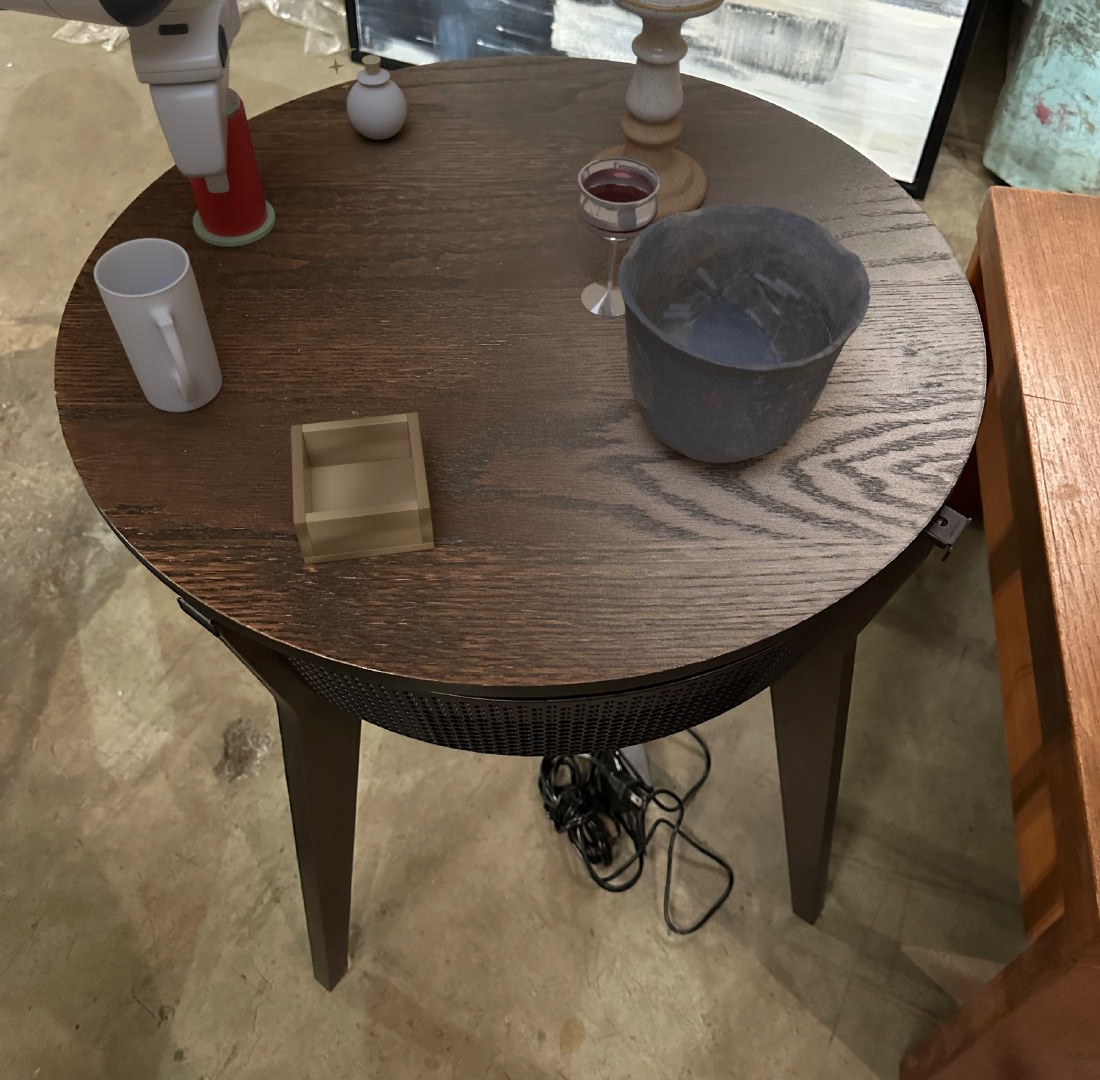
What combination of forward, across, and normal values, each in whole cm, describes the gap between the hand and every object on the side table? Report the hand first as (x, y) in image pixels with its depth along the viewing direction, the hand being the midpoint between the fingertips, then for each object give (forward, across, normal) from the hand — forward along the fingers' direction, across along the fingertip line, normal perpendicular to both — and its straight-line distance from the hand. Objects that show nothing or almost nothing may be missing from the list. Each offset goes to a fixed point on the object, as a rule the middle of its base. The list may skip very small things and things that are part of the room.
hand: (220, 163), depth 93 cm
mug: (+6, +23, -3) cm, 24 cm away
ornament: (+6, -13, +14) cm, 20 cm away
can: (+6, 0, 0) cm, 6 cm away
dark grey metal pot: (+6, +33, +38) cm, 51 cm away
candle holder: (+6, 0, +40) cm, 40 cm away
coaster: (+6, 0, 0) cm, 6 cm away
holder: (+6, +37, +10) cm, 39 cm away
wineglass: (+6, +16, +33) cm, 37 cm away
